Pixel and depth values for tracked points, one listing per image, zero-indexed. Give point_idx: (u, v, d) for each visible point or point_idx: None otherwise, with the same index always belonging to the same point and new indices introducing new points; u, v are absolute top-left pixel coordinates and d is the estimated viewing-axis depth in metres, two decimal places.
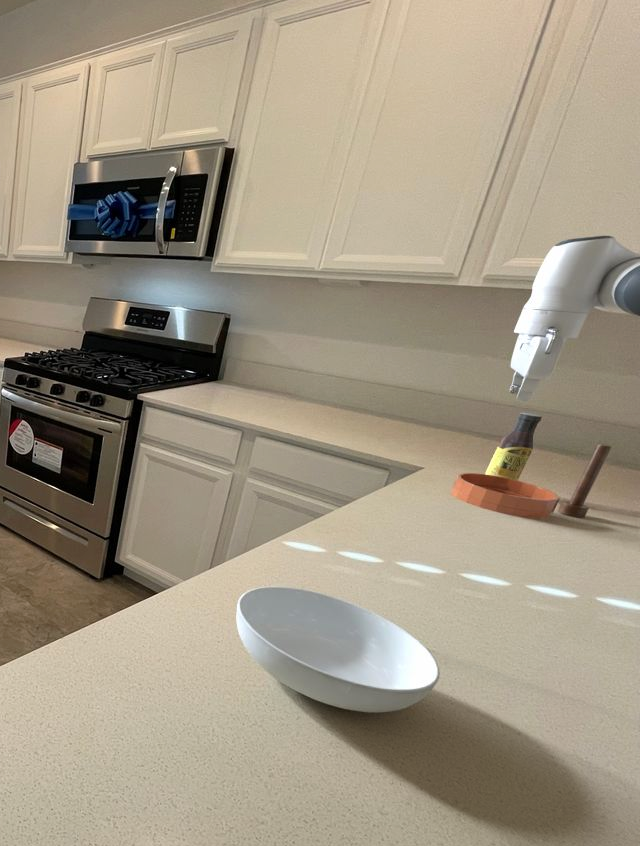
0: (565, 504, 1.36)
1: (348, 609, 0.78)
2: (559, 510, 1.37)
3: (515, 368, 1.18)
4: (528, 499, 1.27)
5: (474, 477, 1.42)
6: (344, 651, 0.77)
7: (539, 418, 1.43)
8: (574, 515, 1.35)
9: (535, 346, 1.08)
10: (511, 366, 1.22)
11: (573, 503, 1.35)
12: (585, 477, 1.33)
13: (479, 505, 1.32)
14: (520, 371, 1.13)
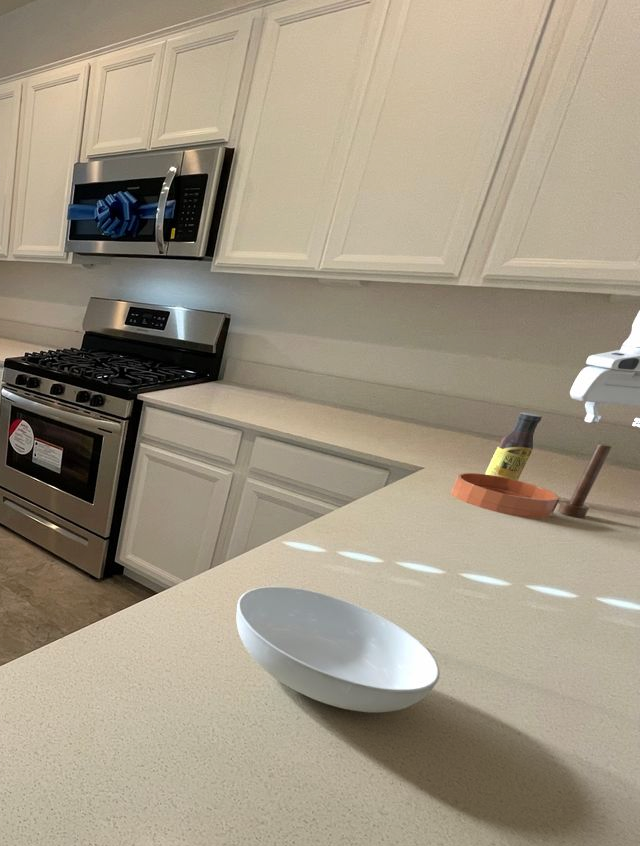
0: (565, 504, 1.36)
1: (349, 609, 0.78)
2: (559, 510, 1.37)
3: (624, 402, 1.26)
4: (528, 499, 1.27)
5: (474, 477, 1.42)
6: (344, 651, 0.77)
7: (539, 418, 1.43)
8: (574, 515, 1.35)
9: None
10: (592, 400, 1.27)
11: (573, 503, 1.35)
12: (585, 477, 1.33)
13: (479, 505, 1.32)
14: None
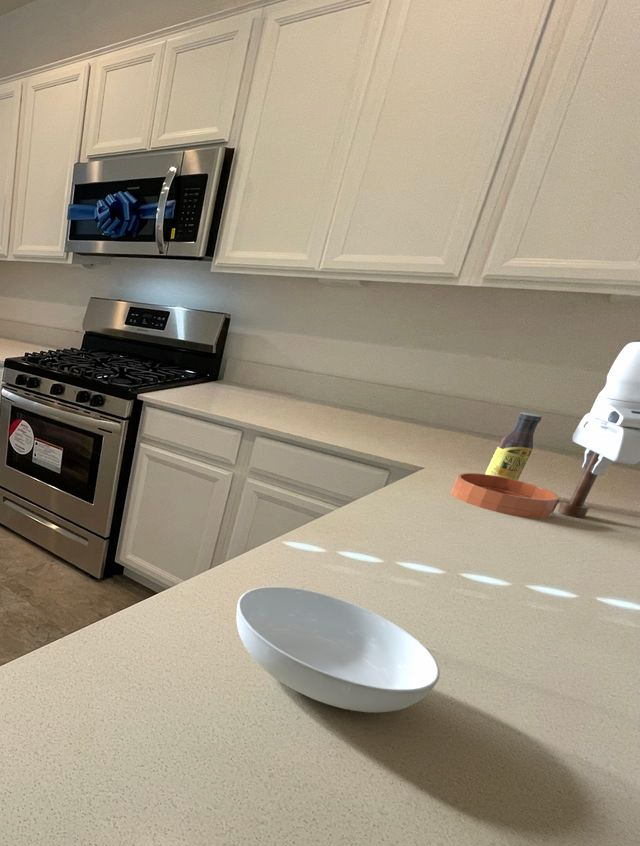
0: (565, 504, 1.36)
1: (348, 609, 0.78)
2: (559, 510, 1.37)
3: None
4: (528, 499, 1.27)
5: (474, 477, 1.42)
6: (344, 651, 0.77)
7: (539, 418, 1.43)
8: (574, 515, 1.35)
9: None
10: None
11: (573, 503, 1.35)
12: (585, 477, 1.33)
13: (479, 505, 1.32)
14: None
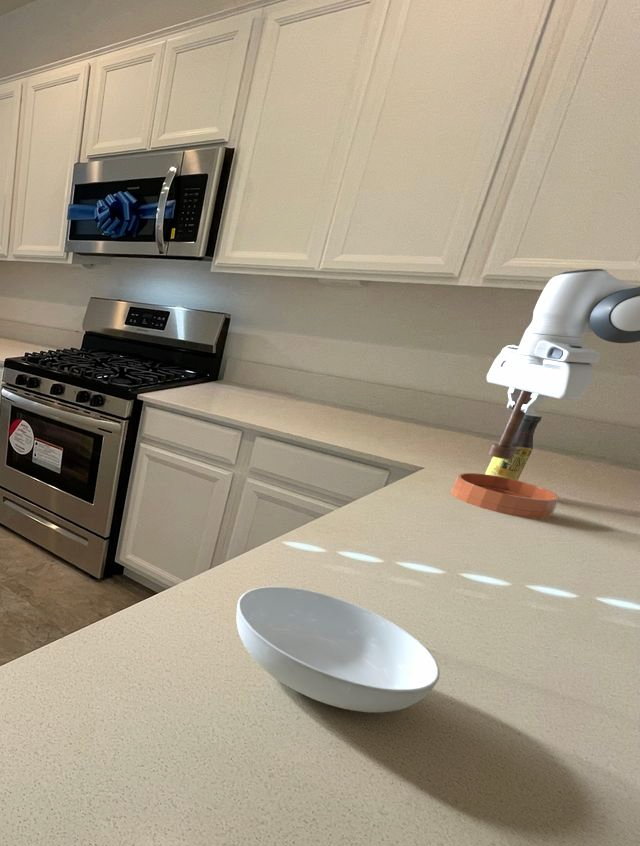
0: (497, 447, 1.32)
1: (349, 609, 0.78)
2: (490, 453, 1.33)
3: None
4: (528, 499, 1.27)
5: (474, 477, 1.42)
6: (344, 651, 0.77)
7: (539, 418, 1.43)
8: (507, 457, 1.31)
9: None
10: None
11: (503, 445, 1.32)
12: (515, 418, 1.30)
13: (479, 505, 1.32)
14: None
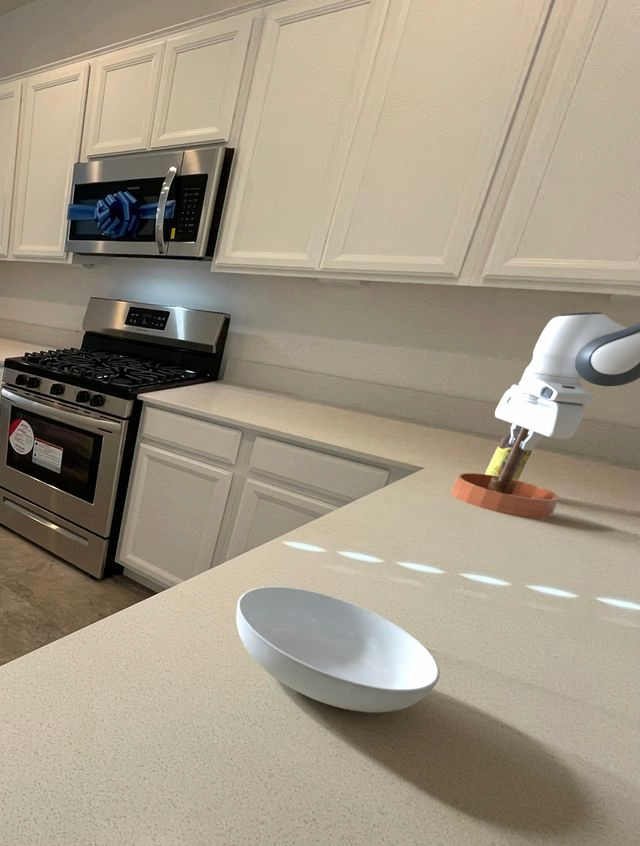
0: (496, 481, 1.35)
1: (348, 609, 0.78)
2: (490, 487, 1.37)
3: None
4: (528, 499, 1.27)
5: (474, 477, 1.42)
6: (344, 651, 0.77)
7: None
8: (505, 491, 1.34)
9: None
10: None
11: (503, 479, 1.35)
12: (514, 453, 1.33)
13: (479, 505, 1.32)
14: None
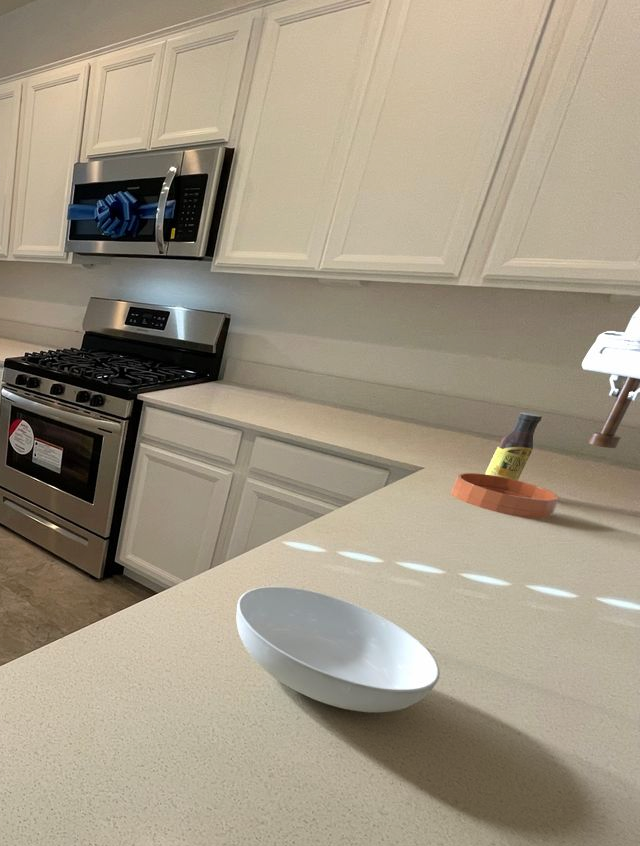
0: (601, 436, 1.29)
1: (348, 609, 0.78)
2: (593, 443, 1.30)
3: None
4: (528, 499, 1.27)
5: (474, 477, 1.42)
6: (344, 651, 0.77)
7: (539, 418, 1.43)
8: (611, 446, 1.28)
9: None
10: None
11: (607, 434, 1.29)
12: (621, 405, 1.27)
13: (479, 505, 1.32)
14: None
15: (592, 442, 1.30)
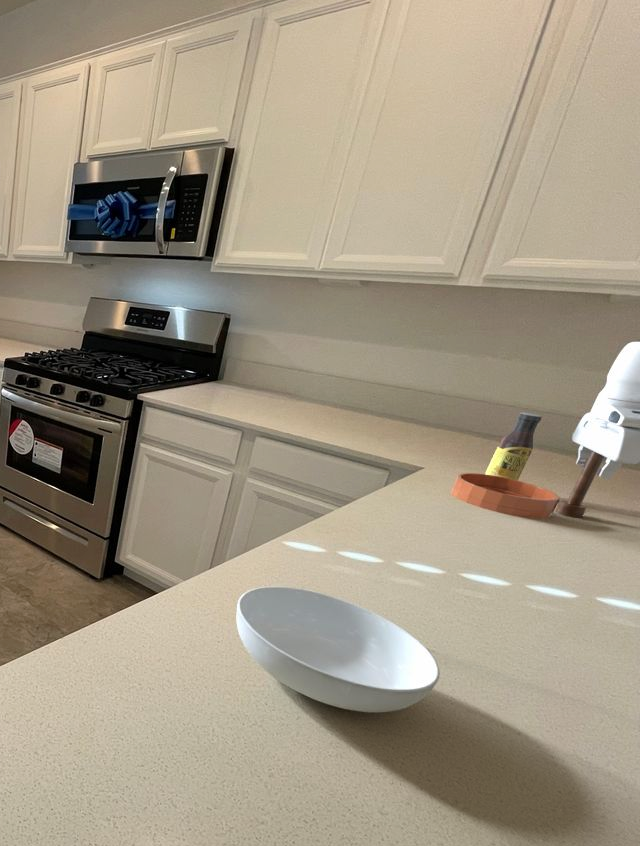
0: (563, 504, 1.36)
1: (349, 609, 0.78)
2: (557, 510, 1.37)
3: None
4: (528, 499, 1.27)
5: (474, 477, 1.42)
6: (344, 651, 0.77)
7: (539, 418, 1.43)
8: (571, 515, 1.35)
9: None
10: None
11: (571, 503, 1.35)
12: (583, 477, 1.33)
13: (479, 505, 1.32)
14: None
15: (556, 509, 1.37)
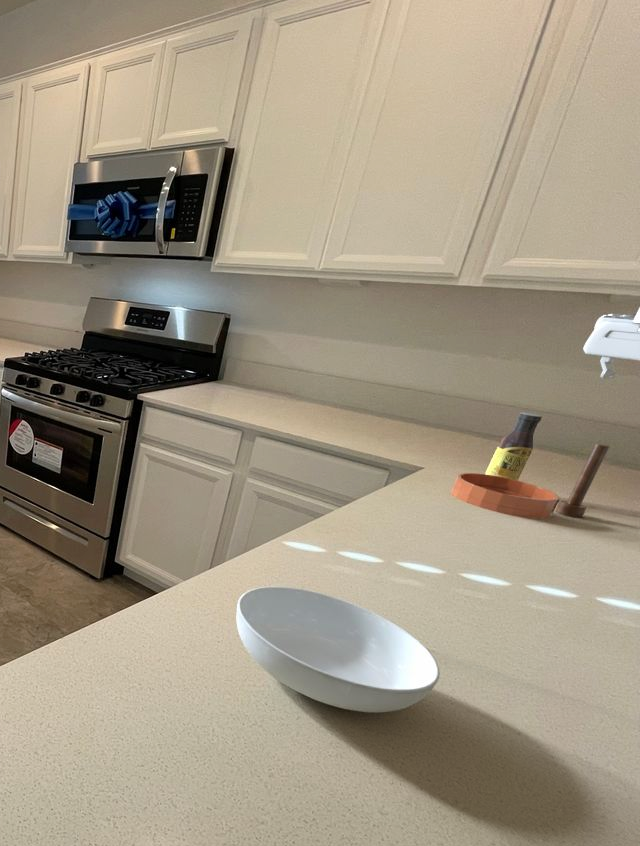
0: (563, 504, 1.36)
1: (348, 609, 0.78)
2: (557, 510, 1.37)
3: None
4: (528, 499, 1.27)
5: (474, 477, 1.42)
6: (344, 651, 0.77)
7: (539, 418, 1.43)
8: (571, 515, 1.35)
9: None
10: None
11: (571, 503, 1.35)
12: (583, 477, 1.33)
13: (479, 505, 1.32)
14: None
15: (556, 509, 1.37)
